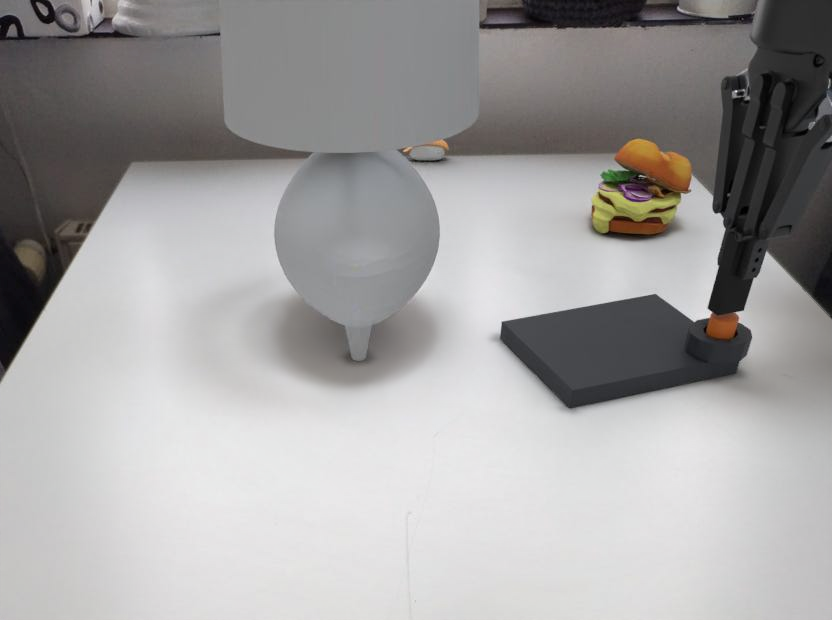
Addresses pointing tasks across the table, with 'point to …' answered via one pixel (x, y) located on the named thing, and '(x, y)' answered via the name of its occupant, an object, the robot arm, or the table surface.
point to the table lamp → (352, 136)
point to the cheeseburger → (641, 190)
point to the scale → (621, 349)
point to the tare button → (722, 325)
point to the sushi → (428, 151)
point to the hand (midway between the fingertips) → (725, 309)
